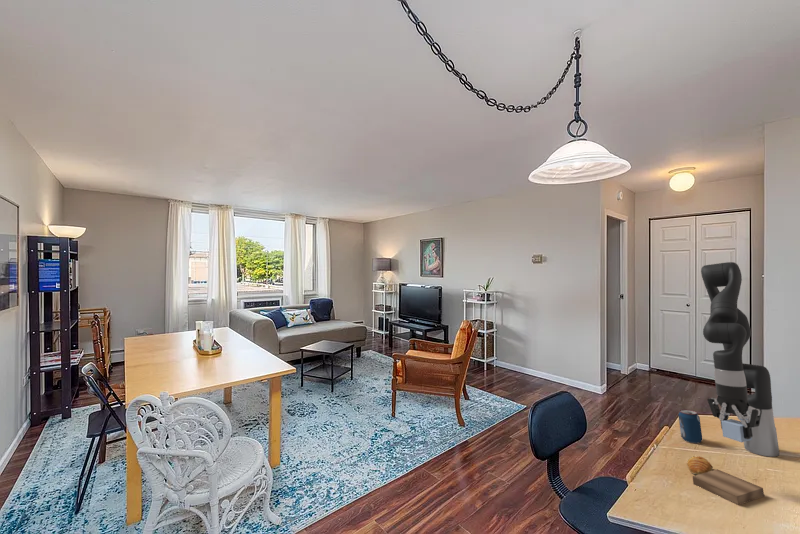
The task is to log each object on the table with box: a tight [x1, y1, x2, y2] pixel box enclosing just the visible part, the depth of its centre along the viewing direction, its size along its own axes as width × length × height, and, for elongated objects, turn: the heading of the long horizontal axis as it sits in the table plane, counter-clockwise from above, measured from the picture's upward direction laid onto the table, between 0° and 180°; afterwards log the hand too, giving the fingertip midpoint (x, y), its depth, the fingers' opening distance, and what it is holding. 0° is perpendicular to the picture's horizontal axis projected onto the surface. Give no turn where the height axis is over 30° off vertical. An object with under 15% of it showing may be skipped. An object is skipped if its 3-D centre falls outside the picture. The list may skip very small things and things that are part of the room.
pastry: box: [686, 455, 714, 475], centre depth 120 cm, size 9×7×4 cm
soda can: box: [677, 408, 703, 444], centre depth 143 cm, size 7×7×12 cm
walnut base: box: [692, 468, 765, 506], centre depth 108 cm, size 12×12×3 cm
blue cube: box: [720, 418, 752, 443], centre depth 111 cm, size 5×5×5 cm
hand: (736, 435), depth 111 cm, fingers closed on blue cube, 5 cm apart
